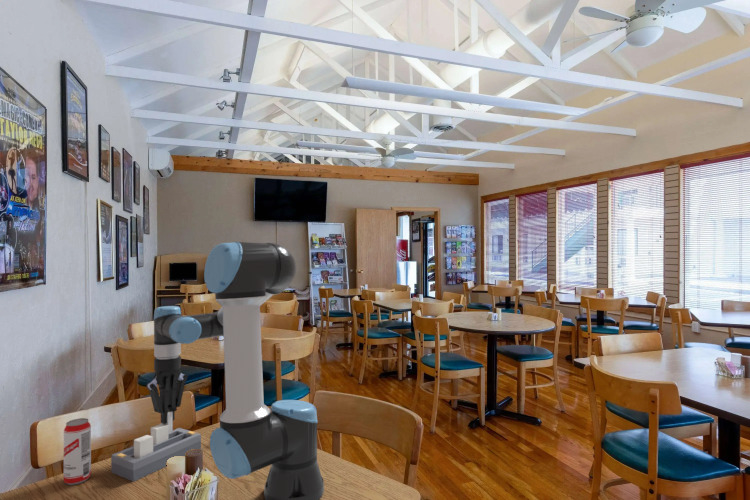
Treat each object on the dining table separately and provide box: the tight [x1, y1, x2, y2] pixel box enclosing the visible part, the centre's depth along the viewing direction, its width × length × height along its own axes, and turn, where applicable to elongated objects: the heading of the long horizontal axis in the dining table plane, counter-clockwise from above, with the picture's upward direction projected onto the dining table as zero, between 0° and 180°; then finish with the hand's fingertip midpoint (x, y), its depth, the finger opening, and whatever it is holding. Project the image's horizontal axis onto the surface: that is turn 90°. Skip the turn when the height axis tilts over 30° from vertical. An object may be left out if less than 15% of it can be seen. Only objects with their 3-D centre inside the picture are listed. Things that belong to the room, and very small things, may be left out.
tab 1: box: [133, 434, 153, 459], centre depth 126 cm, size 3×4×6 cm
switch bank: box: [110, 427, 202, 482], centre depth 133 cm, size 10×22×5 cm, turn 151°
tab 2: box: [150, 423, 168, 446], centre depth 135 cm, size 3×4×6 cm
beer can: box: [63, 417, 92, 486], centre depth 121 cm, size 6×6×16 cm
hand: (167, 432), depth 138 cm, fingers closed
